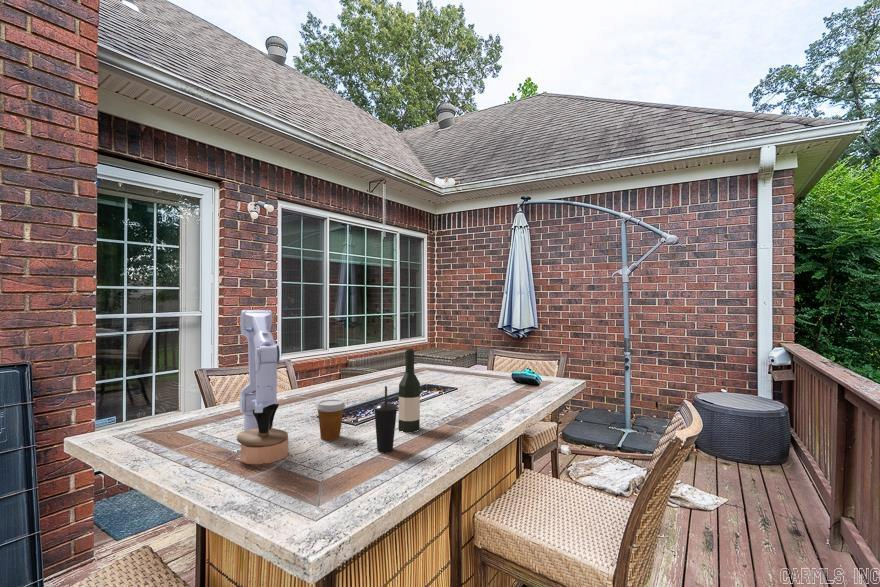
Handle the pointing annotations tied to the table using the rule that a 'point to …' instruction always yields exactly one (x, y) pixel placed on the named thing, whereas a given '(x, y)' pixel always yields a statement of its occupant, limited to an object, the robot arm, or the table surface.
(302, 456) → the table surface
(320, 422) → the disposable coffee cup
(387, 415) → the drinking cup
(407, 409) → the wine bottle
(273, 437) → the lid
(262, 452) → the bowl
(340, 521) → the table surface
